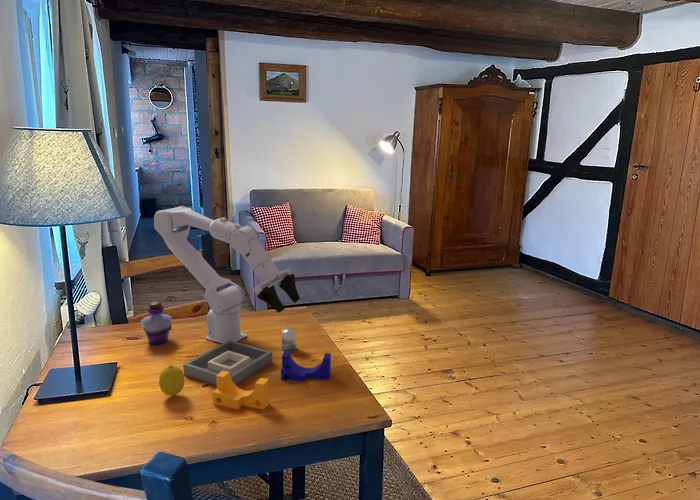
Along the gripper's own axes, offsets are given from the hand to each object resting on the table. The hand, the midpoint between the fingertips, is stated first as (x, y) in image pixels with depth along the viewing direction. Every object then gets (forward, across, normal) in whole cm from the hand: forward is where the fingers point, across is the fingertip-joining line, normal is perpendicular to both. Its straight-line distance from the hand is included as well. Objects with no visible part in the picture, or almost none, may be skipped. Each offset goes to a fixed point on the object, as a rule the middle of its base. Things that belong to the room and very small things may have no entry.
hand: (289, 305), depth 137 cm
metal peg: (+10, 0, +10) cm, 14 cm away
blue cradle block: (+18, -10, 0) cm, 21 cm away
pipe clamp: (+13, -28, +4) cm, 31 cm away
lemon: (+3, -33, +16) cm, 37 cm away
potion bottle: (-13, -14, +38) cm, 42 cm away
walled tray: (+5, -16, +15) cm, 23 cm away
